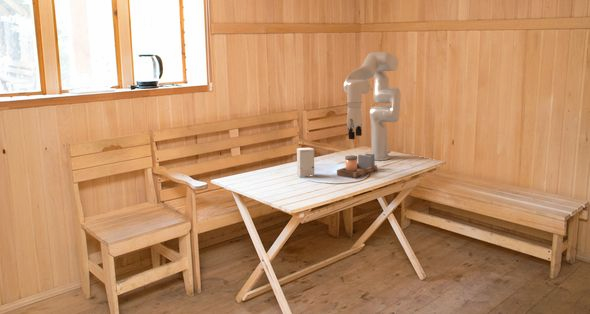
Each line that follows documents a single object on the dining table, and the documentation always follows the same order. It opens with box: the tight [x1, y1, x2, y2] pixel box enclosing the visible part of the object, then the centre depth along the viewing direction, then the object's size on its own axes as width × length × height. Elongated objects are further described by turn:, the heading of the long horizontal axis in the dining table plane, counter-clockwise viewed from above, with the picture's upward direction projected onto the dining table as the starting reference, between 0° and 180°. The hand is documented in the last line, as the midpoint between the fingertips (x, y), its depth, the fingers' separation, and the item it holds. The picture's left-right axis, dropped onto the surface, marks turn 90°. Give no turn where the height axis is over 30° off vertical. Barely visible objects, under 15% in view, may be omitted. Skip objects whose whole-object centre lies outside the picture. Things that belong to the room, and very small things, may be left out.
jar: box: [344, 154, 358, 172], centre depth 297 cm, size 6×6×9 cm
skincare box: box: [296, 147, 315, 178], centre depth 300 cm, size 8×6×15 cm
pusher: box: [357, 152, 376, 168], centre depth 308 cm, size 6×8×7 cm
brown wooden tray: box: [336, 162, 378, 179], centre depth 302 cm, size 20×12×3 cm, turn 138°
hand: (355, 137), depth 297 cm, fingers open, 9 cm apart
